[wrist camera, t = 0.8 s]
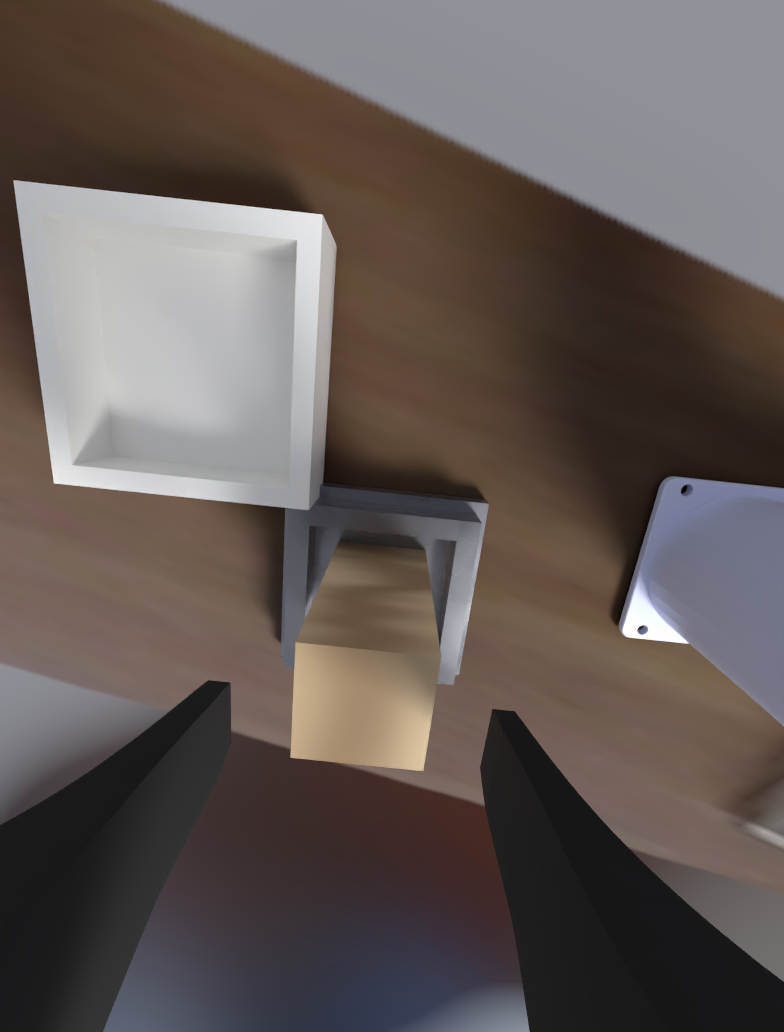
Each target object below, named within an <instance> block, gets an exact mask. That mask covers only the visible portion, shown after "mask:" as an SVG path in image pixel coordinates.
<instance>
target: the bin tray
mask: <svg viewBox="0 0 784 1032" xmlns="http://www.w3.org/2000/svg"><path fill="white" fill-rule="evenodd" d="M13 181H14V189H15V196H16V203H17V211H18V218H19V226H20V233H21V241H22V248H23V256H24V263H25V271H26V278H27V285H28V293H29V300H30V308H31V315H32V323H33V330H34V338H35V345H36V353H37V360H38V367H39V375H40V382H41V390H42V397H43V405H44V412H45V420H46V427H47V435H48V442H49V449H50V457H51V464H52V472H53V479H54V483H57V484H66V485H76V486H85V487H95V488H104V489H113V490H123V491H132V492H142V493H151V494H160V495H170V496H179V497H189V498H198V499H207V500H217V501H226V502H236V503H245V504H254V505H264V506H273V507H283V508H292V509H301V510H309V509H310V508H311V507H312V505H313V504H314V503H315V502H316V500H317V499H318V498H319V494H320V485H321V484H322V483H323V478H324V460H325V443H326V425H327V408H328V390H329V372H330V355H331V337H332V320H333V302H334V285H335V267H336V250H337V246H336V243H335V241H334V239H333V237H332V234H331V232H330V230H329V228H328V226H327V223H326V221H325V219H324V217H323V215H321V214H312V213H303V212H294V211H285V210H276V209H267V208H258V207H249V206H240V205H231V204H222V203H213V202H204V201H195V200H186V199H177V198H168V197H159V196H150V195H141V194H132V193H123V192H114V191H105V190H96V189H87V188H78V187H69V186H61V185H52V184H43V183H34V182H25V181H16V180H13Z"/></svg>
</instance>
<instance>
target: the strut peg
mask: <svg viewBox="0 0 784 1032" xmlns="http://www.w3.org/2000/svg"><path fill="white" fill-rule="evenodd" d="M440 663H441V652H440V645H439V638H438V631H437V624H436V618H435V611H434V604H433V597H432V590H431V584H430V577H429V570H428V563H427V557H426V550H417V549H407V548H398V547H388V546H379V545H369V544H360V543H350V542H341V541H339V542H338V544H337V547H336V549H335V551H334V554H333V556H332V558H331V561H330V563H329V565H328V568H327V570H326V572H325V575H324V577H323V579H322V582H321V584H320V586H319V589H318V591H317V593H316V596H315V598H314V600H313V603H312V605H311V607H310V610H309V612H308V614H307V617H306V619H305V621H304V624H303V626H302V628H301V631H300V633H299V635H298V638H297V640H296V644H295V668H294V692H293V716H292V739H291V758H301V759H311V760H321V761H330V762H340V763H349V764H359V765H369V766H379V767H389V768H398V769H408V770H418V771H423V769H424V762H425V756H426V750H427V744H428V737H429V731H430V725H431V719H432V713H433V706H434V700H435V694H436V688H437V682H438V675H439V669H440Z"/></svg>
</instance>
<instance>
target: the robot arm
mask: <svg viewBox="0 0 784 1032" xmlns="http://www.w3.org/2000/svg"><path fill="white" fill-rule="evenodd" d="M685 485H687V490H686V492H684V493H683V494H681V489H682V487H683V486H685ZM643 625H644V626H643ZM640 626H643V628H642V629H641V630H637V629H638V628H639V627H640ZM618 628H619V630H620V632H621V633H622V634H623V635H625V636H626V637H630V638H639V639H649V640H658V641H668V642H677V643H687V644H691V645H692V646H693V647H694V648H695V649H696V650H697V651H699V652H700V653H701V654H702V655H703V656H704V657H705V658H707V659H708V660H709V661H710V662H711V663H712V664H713V665H715V666H716V667H717V668H718V669H719V670H720V671H721V672H723V673H724V674H725V675H726V676H727V677H728V678H729V679H731V680H732V681H733V682H734V683H735V684H736V685H737V686H739V687H740V688H741V689H742V690H743V691H744V692H745V693H747V694H748V695H749V696H750V697H751V698H752V699H753V700H755V701H756V702H757V703H758V704H759V705H760V706H761V707H763V708H764V709H765V710H766V711H767V712H768V713H769V714H771V715H772V716H773V717H774V718H775V719H776V720H777V721H779V722H780V723H781V724H782V725H783V726H784V488H778V487H769V486H759V485H750V484H741V483H732V482H722V481H713V480H704V479H694V478H685V477H676V476H672V477H668V478H666V479H664V480H663V481H662V482H661V484H660V487H659V490H658V493H657V497H656V500H655V503H654V507H653V510H652V514H651V517H650V520H649V524H648V527H647V530H646V534H645V537H644V541H643V544H642V547H641V551H640V554H639V557H638V561H637V564H636V567H635V571H634V574H633V578H632V581H631V584H630V588H629V591H628V594H627V598H626V601H625V605H624V608H623V611H622V615H621V618H620V621H619V627H618ZM230 744H231V689H230V683H229V682H219V681H210V680H208V681H207V682H205V683H204V684H203V685H202V686H200V687H199V688H198V689H197V690H195V691H194V692H193V693H192V694H190V695H189V696H188V697H187V698H186V699H184V700H183V701H182V702H181V703H179V704H178V705H177V706H176V707H174V708H173V709H172V710H171V711H170V712H168V713H167V714H166V715H165V716H163V717H162V718H161V719H160V720H158V721H157V722H156V723H154V724H153V725H152V726H151V727H150V728H148V729H147V730H145V731H144V732H143V733H142V734H140V735H139V736H138V737H136V738H135V739H134V740H133V741H131V742H130V743H128V744H127V745H126V746H125V747H123V748H122V749H120V750H119V751H117V752H116V753H115V754H113V755H112V756H111V757H109V758H108V759H106V760H105V761H104V762H102V763H101V764H99V765H98V766H97V767H95V768H94V769H92V770H91V771H89V772H88V773H86V774H85V775H83V776H82V777H80V778H79V779H77V780H76V781H75V782H73V783H71V784H69V785H68V786H66V787H65V788H63V789H61V790H60V791H58V792H57V793H55V794H53V795H52V796H50V797H49V798H47V799H45V800H44V801H42V802H40V803H39V804H37V805H35V806H34V807H32V808H30V809H28V810H26V811H25V812H23V813H21V814H19V815H18V816H16V817H14V818H12V819H11V820H9V821H7V822H5V823H3V824H2V825H0V1032H103V1030H104V1028H105V1025H106V1022H107V1020H108V1017H109V1014H110V1012H111V1010H112V1007H113V1005H114V1002H115V1000H116V997H117V995H118V992H119V990H120V987H121V985H122V982H123V980H124V978H125V975H126V973H127V970H128V968H129V965H130V962H131V960H132V958H133V955H134V953H135V951H136V948H137V946H138V943H139V941H140V938H141V936H142V934H143V931H144V929H145V926H146V924H147V922H148V919H149V917H150V914H151V912H152V910H153V907H154V905H155V903H156V901H157V898H158V896H159V894H160V892H161V890H162V888H163V886H164V884H165V882H166V880H167V878H168V876H169V874H170V872H171V870H172V868H173V866H174V864H175V862H176V860H177V858H178V856H179V854H180V852H181V850H182V848H183V846H184V844H185V842H186V840H187V839H188V837H189V835H190V833H191V831H192V829H193V827H194V825H195V823H196V821H197V819H198V817H199V815H200V813H201V811H202V809H203V807H204V805H205V803H206V801H207V799H208V797H209V795H210V793H211V791H212V789H213V787H214V785H215V783H216V781H217V778H218V776H219V773H220V770H221V768H222V765H223V763H224V760H225V758H226V755H227V752H228V749H229V747H230ZM480 770H481V779H482V787H483V795H484V802H485V809H486V814H487V818H488V822H489V827H490V831H491V835H492V839H493V844H494V848H495V852H496V856H497V860H498V864H499V869H500V873H501V877H502V881H503V885H504V889H505V894H506V898H507V902H508V906H509V910H510V915H511V920H512V924H513V929H514V934H515V939H516V946H517V951H518V958H519V964H520V971H521V977H522V983H523V990H524V996H525V1002H526V1010H527V1016H528V1023H529V1030H530V1032H784V982H783V981H782V980H781V979H779V978H778V977H777V976H775V975H774V974H772V973H771V972H770V971H769V970H767V969H766V968H765V967H763V966H762V965H761V964H759V963H758V962H757V961H756V960H754V959H753V958H752V957H751V956H749V955H748V954H747V953H746V952H745V951H743V950H742V949H741V948H740V947H738V946H737V945H736V944H735V943H733V942H732V941H731V940H730V939H729V938H727V937H726V936H725V935H723V934H722V933H721V932H720V931H719V930H718V929H716V928H715V927H714V926H713V925H712V924H710V923H709V922H708V921H707V920H706V919H704V918H703V917H702V916H701V915H700V914H699V913H698V912H696V911H695V910H694V909H693V908H692V907H691V906H689V905H688V904H687V903H686V902H685V901H684V900H683V899H682V898H681V897H680V896H678V895H677V894H676V893H675V892H674V891H673V890H672V889H671V888H670V887H668V886H667V885H666V884H665V883H664V882H663V881H662V880H661V879H660V878H659V877H658V876H656V875H655V874H654V873H653V872H652V871H651V870H650V869H649V868H648V867H647V866H646V865H645V864H644V863H643V862H642V861H641V860H639V858H638V857H637V856H636V855H635V854H634V853H633V852H632V851H631V850H630V849H629V848H628V847H627V846H626V845H625V844H624V843H623V842H622V841H621V840H620V839H619V838H618V837H617V836H616V835H615V834H614V833H613V832H612V831H611V830H610V829H609V827H608V826H607V825H606V824H605V823H604V822H603V821H602V820H601V819H600V818H599V817H598V815H597V814H596V813H595V812H594V811H593V810H592V809H591V807H590V806H589V805H588V804H587V803H586V802H585V801H584V800H583V798H582V797H581V796H580V795H579V794H578V793H577V791H576V790H575V789H574V788H573V787H572V785H571V784H570V783H569V782H568V780H567V779H566V778H565V777H564V775H563V774H562V773H561V772H560V770H559V769H558V768H557V767H556V765H555V764H554V763H553V762H552V760H551V759H550V758H549V756H548V755H547V754H546V752H545V751H544V750H543V748H542V747H541V746H540V745H539V743H538V742H537V741H536V739H535V738H534V737H533V735H532V734H531V732H530V731H529V730H528V728H527V727H526V726H525V724H524V723H523V722H522V720H521V719H520V718H519V716H518V715H517V714H516V713H515V711H505V710H496V709H492V714H491V719H490V723H489V728H488V733H487V738H486V742H485V747H484V752H483V757H482V761H481V766H480Z"/></svg>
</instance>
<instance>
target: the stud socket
mask: <svg viewBox="0 0 784 1032" xmlns="http://www.w3.org/2000/svg"><path fill="white" fill-rule="evenodd" d="M488 507H489V503H488V502H487V501H486V499H478V498H468V497H459V496H449V495H440V494H431V493H421V492H412V491H403V490H393V489H384V488H375V487H365V486H356V485H347V484H337V483H328V482H323V483H322V484H321V485H320V494H319V498H318V499H317V500H316V502H315V503H314V504H313V505H312V507H311V508H310V509H309V510H301V509H292V508H285V531H284V563H283V596H282V629H281V657H283V667H285V668H295V644H296V640H297V638H298V635H299V633H300V631H301V628H302V626H303V624H304V621H305V619H306V617H307V614H308V612H309V610H310V607H311V605H312V603H313V600H314V598H315V596H316V593H317V591H318V589H319V586H320V584H321V582H322V579H323V577H324V575H325V572H326V570H327V568H328V565H329V563H330V561H331V558H332V556H333V554H334V551H335V549H336V547H337V544H338V542H339V541H341V542H350V543H360V544H369V545H379V546H388V547H398V548H407V549H417V550H426V557H427V563H428V570H429V577H430V584H431V590H432V597H433V604H434V611H435V618H436V624H437V631H438V638H439V645H440V652H441V663H440V669H439V675H438V682H437V683H439V684H449V685H454V679H455V675H459V670H460V665H461V659H462V653H463V648H464V642H465V637H466V631H467V625H468V620H469V614H470V608H471V603H472V597H473V591H474V586H475V580H476V575H477V569H478V563H479V558H480V552H481V546H482V541H483V535H484V530H485V524H486V518H487V513H488Z"/></svg>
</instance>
